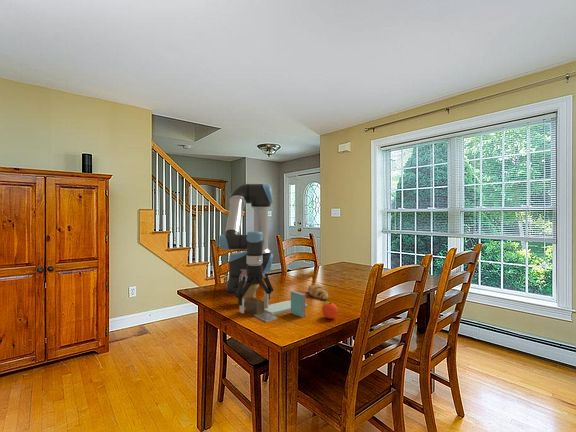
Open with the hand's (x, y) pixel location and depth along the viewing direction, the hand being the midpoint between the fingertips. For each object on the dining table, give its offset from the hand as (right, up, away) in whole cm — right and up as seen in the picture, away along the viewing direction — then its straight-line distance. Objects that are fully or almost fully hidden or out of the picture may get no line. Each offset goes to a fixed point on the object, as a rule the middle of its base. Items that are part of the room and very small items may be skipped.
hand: (254, 309), depth 143 cm
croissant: (+33, -2, +30) cm, 45 cm away
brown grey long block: (+3, -2, -3) cm, 5 cm away
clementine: (+34, -2, -7) cm, 35 cm away
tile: (+20, -2, -3) cm, 21 cm away
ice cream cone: (-4, -2, +15) cm, 16 cm away
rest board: (+14, -1, +7) cm, 16 cm away
